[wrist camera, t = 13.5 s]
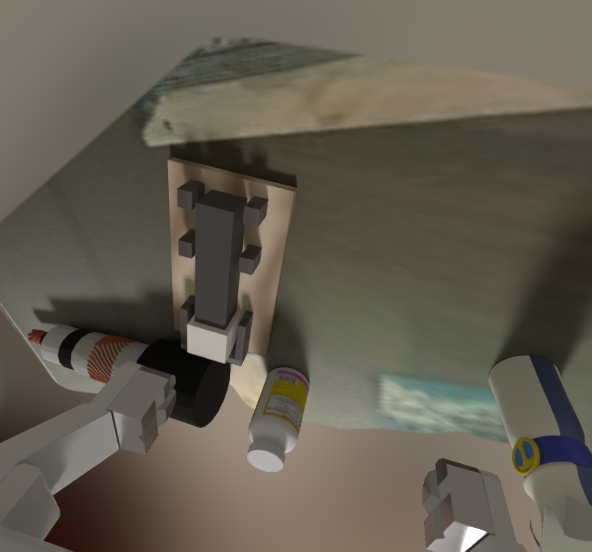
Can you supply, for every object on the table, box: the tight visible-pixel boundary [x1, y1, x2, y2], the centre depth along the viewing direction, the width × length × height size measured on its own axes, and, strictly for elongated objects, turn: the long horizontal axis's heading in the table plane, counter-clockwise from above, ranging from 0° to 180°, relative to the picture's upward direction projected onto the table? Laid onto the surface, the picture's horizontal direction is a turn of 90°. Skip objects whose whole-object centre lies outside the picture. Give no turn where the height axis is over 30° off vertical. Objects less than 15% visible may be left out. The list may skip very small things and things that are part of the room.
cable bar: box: [187, 189, 247, 363], centre depth 42 cm, size 5×21×5 cm, turn 170°
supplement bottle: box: [247, 367, 309, 472], centre depth 49 cm, size 7×7×13 cm
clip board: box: [168, 157, 297, 366], centre depth 43 cm, size 14×25×4 cm, turn 170°
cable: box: [28, 325, 231, 428], centre depth 54 cm, size 10×34×10 cm, turn 89°
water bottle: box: [489, 355, 592, 552], centre depth 34 cm, size 8×9×25 cm
